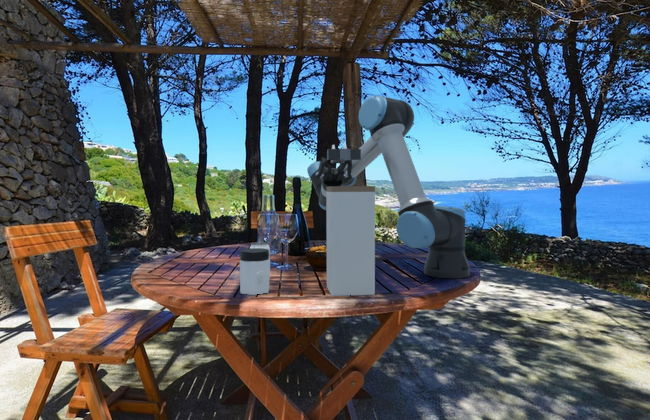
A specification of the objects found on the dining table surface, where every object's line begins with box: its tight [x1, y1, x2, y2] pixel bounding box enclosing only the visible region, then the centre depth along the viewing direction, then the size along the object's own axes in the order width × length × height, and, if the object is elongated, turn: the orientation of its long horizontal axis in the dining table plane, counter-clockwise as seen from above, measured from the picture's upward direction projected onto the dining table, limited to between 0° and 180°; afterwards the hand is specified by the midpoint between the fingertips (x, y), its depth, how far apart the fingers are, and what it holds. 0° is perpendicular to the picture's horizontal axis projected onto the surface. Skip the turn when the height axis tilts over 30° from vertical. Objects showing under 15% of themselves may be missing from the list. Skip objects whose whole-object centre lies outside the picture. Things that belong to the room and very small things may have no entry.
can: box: [249, 241, 271, 280], centre depth 139 cm, size 6×6×12 cm
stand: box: [325, 185, 376, 297], centre depth 124 cm, size 12×12×30 cm
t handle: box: [326, 148, 361, 164], centre depth 141 cm, size 20×10×3 cm, turn 7°
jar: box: [239, 248, 270, 296], centre depth 123 cm, size 9×8×12 cm
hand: (339, 148), depth 142 cm, fingers closed on t handle, 3 cm apart
